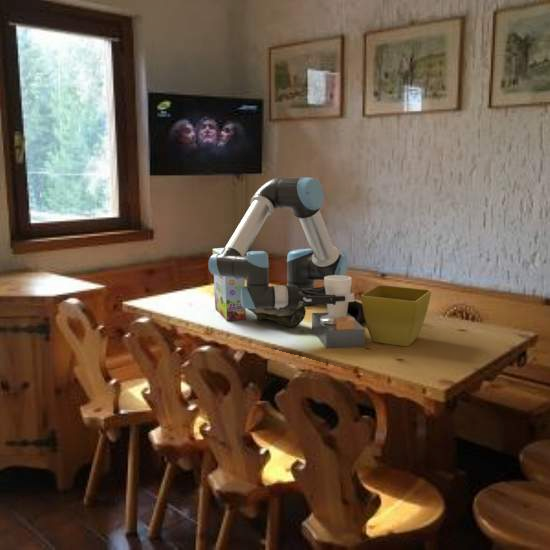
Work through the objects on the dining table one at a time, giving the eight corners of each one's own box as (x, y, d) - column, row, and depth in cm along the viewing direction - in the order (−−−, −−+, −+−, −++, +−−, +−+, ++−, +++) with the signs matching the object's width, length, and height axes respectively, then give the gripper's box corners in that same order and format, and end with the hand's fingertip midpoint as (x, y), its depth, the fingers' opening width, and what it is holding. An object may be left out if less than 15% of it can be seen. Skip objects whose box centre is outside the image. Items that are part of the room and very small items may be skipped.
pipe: (345, 294, 248) (328, 295, 235) (379, 301, 240) (364, 302, 227) (341, 318, 248) (325, 320, 236) (376, 325, 241) (360, 328, 228)
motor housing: (312, 328, 226) (312, 305, 224) (346, 327, 227) (346, 303, 226) (326, 348, 202) (326, 322, 201) (364, 346, 204) (365, 320, 202)
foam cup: (318, 315, 212) (319, 278, 210) (331, 310, 220) (332, 274, 217) (343, 319, 207) (343, 281, 204) (355, 313, 214) (356, 276, 212)
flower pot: (414, 351, 199) (416, 301, 196) (358, 343, 208) (359, 294, 205) (429, 336, 215) (431, 289, 212) (378, 329, 224) (379, 284, 221)
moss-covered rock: (303, 343, 224) (325, 310, 228) (284, 324, 217) (307, 290, 221) (258, 325, 246) (279, 295, 250) (239, 307, 239) (261, 276, 243)
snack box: (213, 309, 257) (211, 248, 252) (233, 307, 259) (232, 246, 255) (225, 321, 237) (223, 255, 232) (247, 319, 239) (246, 254, 234)
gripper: (281, 300, 221) (342, 297, 224) (291, 315, 200) (358, 312, 203) (281, 279, 220) (342, 277, 223) (291, 292, 198) (359, 290, 201)
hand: (350, 294), depth 213 cm, fingers closed on foam cup, 9 cm apart
